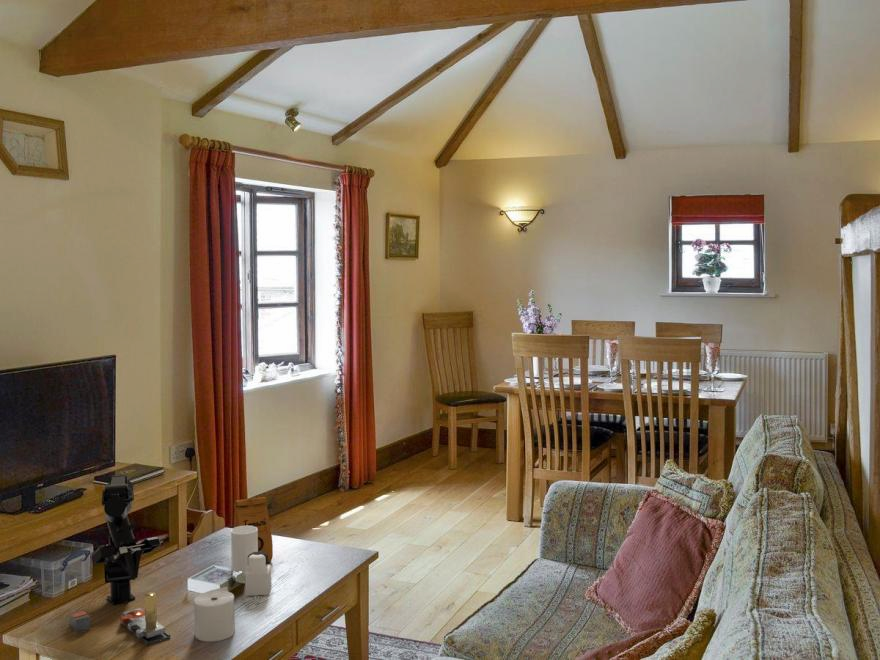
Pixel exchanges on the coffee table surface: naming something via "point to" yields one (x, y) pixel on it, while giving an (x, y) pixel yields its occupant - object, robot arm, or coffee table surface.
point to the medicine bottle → (258, 575)
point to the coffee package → (255, 521)
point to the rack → (144, 618)
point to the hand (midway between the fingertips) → (135, 578)
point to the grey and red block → (79, 621)
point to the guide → (151, 639)
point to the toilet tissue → (214, 615)
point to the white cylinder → (243, 546)
